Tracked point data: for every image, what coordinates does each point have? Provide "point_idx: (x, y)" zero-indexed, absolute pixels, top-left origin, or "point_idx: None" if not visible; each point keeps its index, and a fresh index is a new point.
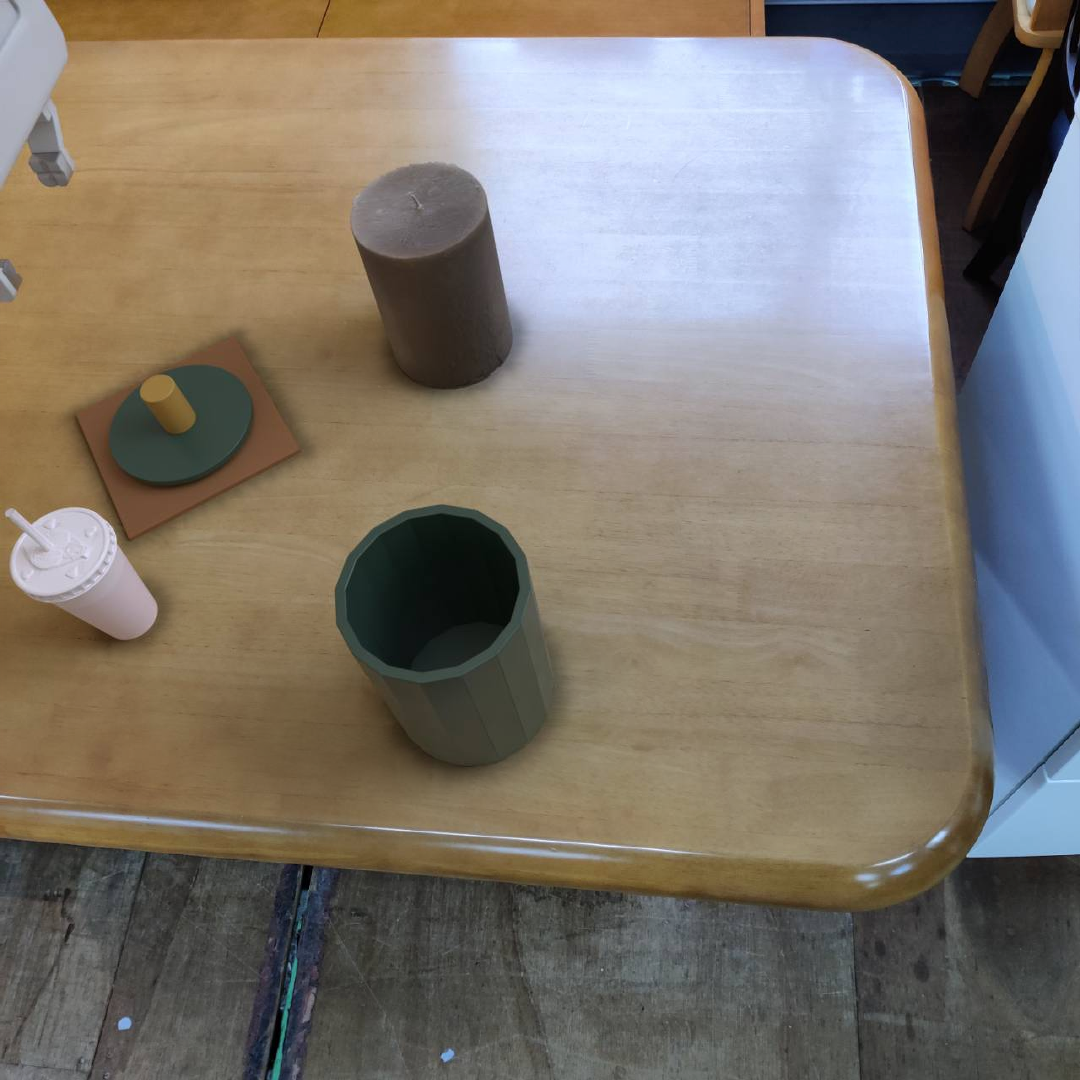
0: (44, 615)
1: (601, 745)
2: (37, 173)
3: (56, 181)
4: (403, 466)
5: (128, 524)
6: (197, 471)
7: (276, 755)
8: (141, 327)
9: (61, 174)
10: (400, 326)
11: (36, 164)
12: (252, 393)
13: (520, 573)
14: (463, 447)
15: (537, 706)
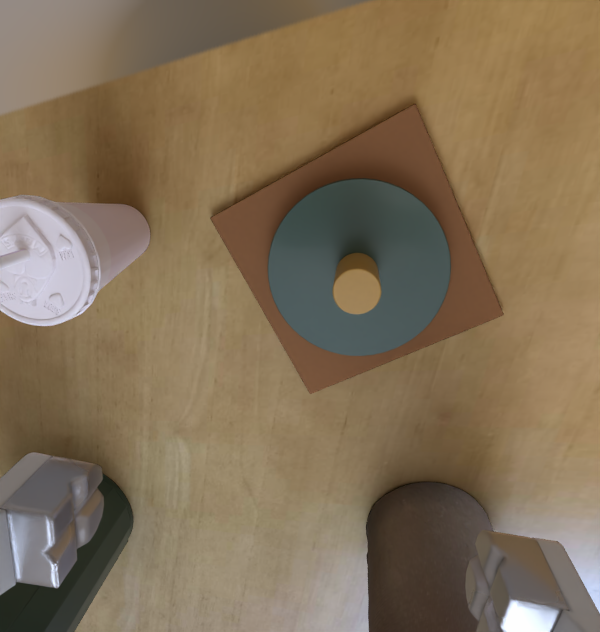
0: (122, 125)
1: None
2: (504, 558)
3: (478, 569)
4: (282, 477)
5: (228, 214)
6: (278, 301)
7: (11, 374)
8: (570, 173)
9: (480, 609)
10: (382, 572)
11: (499, 612)
12: None
13: None
14: (297, 524)
15: None
